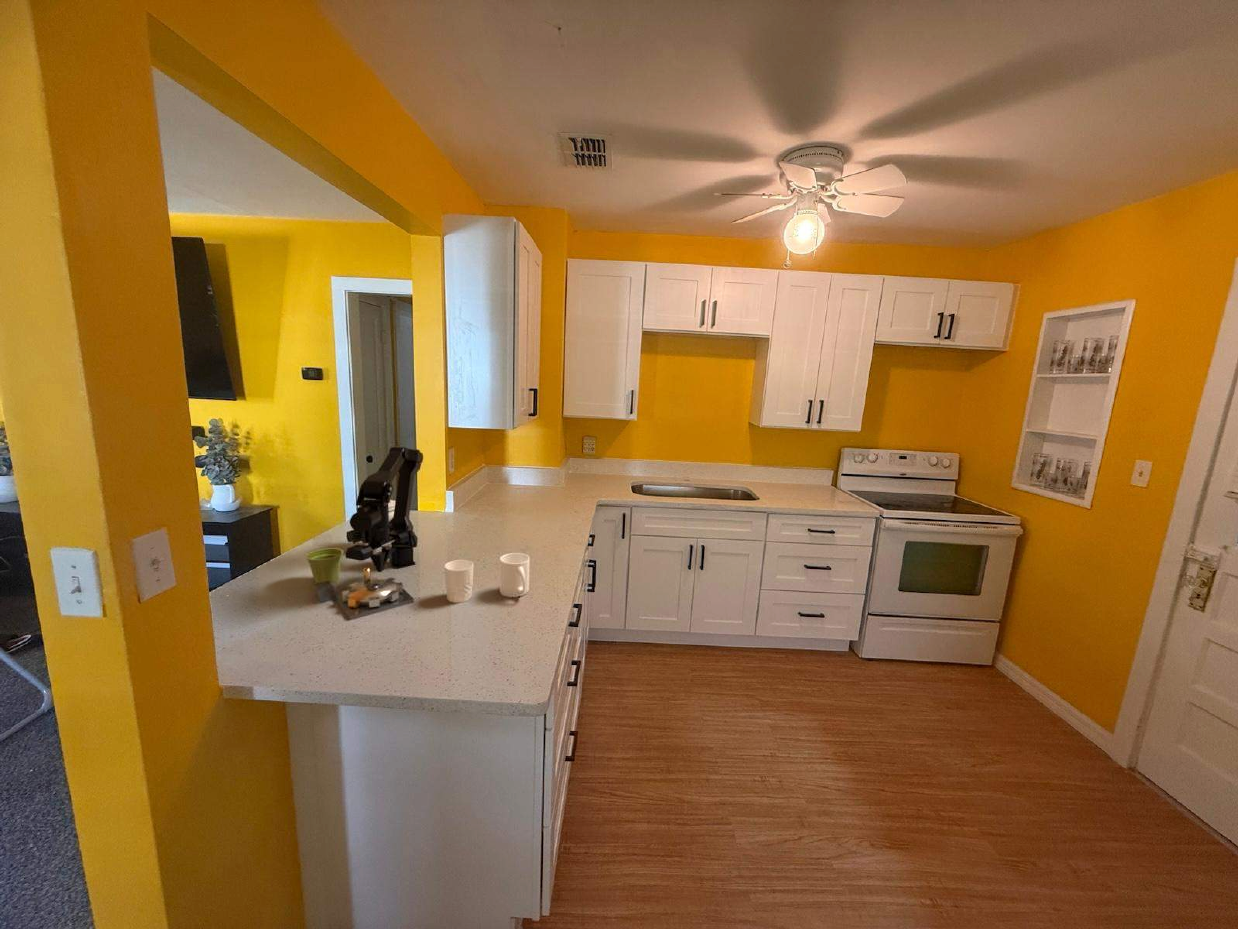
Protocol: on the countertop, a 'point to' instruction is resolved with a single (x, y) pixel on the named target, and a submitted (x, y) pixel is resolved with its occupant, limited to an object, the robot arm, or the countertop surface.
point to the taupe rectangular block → (324, 591)
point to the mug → (514, 574)
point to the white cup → (459, 580)
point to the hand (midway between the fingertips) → (379, 571)
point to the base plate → (365, 610)
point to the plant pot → (325, 564)
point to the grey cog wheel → (372, 591)
